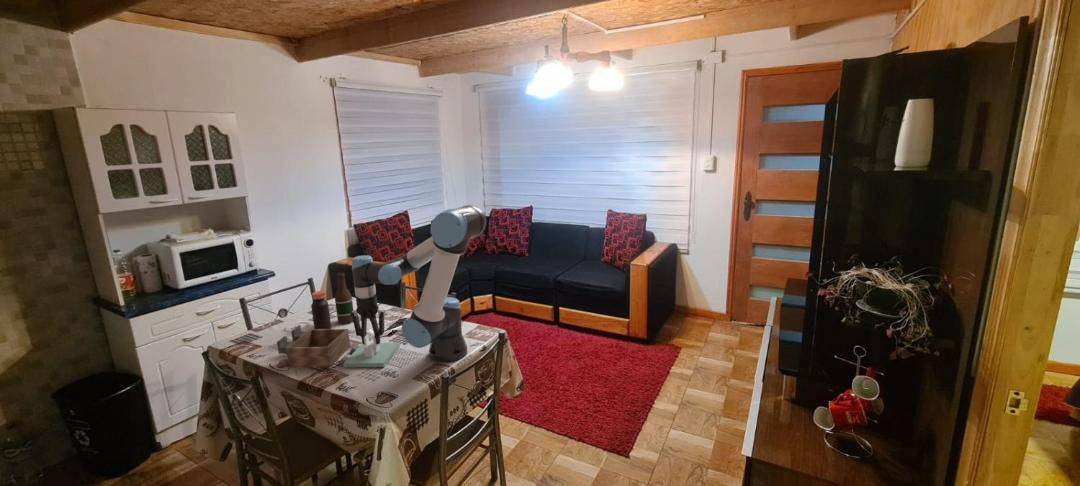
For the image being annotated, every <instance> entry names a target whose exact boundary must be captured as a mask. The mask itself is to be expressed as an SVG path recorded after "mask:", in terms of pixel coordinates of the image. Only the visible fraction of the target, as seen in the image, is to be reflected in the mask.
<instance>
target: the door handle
mask: <svg viewBox="0 0 1080 486" xmlns="http://www.w3.org/2000/svg"><path fill="white" fill-rule="evenodd" d="M410 317H411V316H405V317H400V318H398V319H394V320H391V321H388V322H384V329H385V328H387V327H390V325H391V324H393V323H395V322H396V321H398V320H399V319H403V318H407V319H408V318H410ZM391 326H392V325H391ZM378 327H379V325H378ZM401 329H402V325H399V326H397V327H395V328H391V329H388V330H386V331H385V330H384V333H383V334H382V335H381V336H380V338H383V337H385V336H389V335H388V334H389V333H390V332H392V330H400V331H402V330H401ZM366 333H367V334H366V335H368V336H369V341H370V340H371V339H373V337H374V336H375V335H374V331H373V328H370V329H366Z"/></svg>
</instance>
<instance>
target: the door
mask: <svg viewBox="0 0 1080 486" xmlns="http://www.w3.org/2000/svg"><path fill="white" fill-rule="evenodd" d="M400 345H401V344H400V342H380V343H379V351H378V352H377V353H375V350H374V341H373V339H371V340H369V343H368V344H367V345H366V346H365V344H362V343H361V344H360V345H358V344H354V346H352V347H351V348H350V349H349V352H350V353H351V354H350V356H349V357H348V355H344V356H343V357H341V359H340V360H339V362H338V364H339V365H341V366H342V365H343V368H385V367H386V365H387V364H388V362H389V361H390V360H391V358H392V357H393V356H394V354H396V351H398V349H399V348H400Z"/></svg>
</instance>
